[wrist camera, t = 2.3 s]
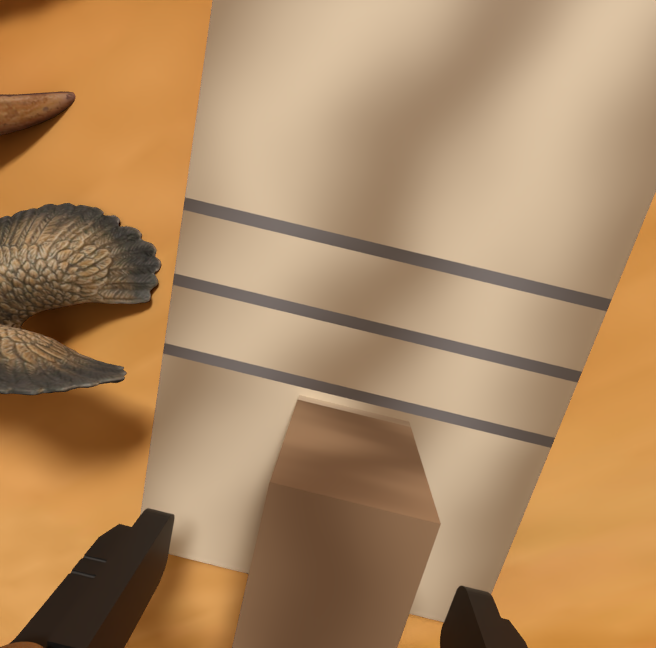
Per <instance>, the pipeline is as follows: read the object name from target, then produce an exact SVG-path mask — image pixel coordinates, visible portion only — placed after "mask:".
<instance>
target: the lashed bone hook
mask: <svg viewBox="0 0 656 648" xmlns="http://www.w3.org/2000/svg"><path fill="white" fill-rule="evenodd" d="M74 100H75V94H74V93H73V92H50V93H33V94H19V95H0V135H3V134H7V133H11V132H15V131H19V130H22V129H25V128H28V127H31V126H33V125H36V124H39V123H42V122H44V121H47V120H49V119H51V118H53V117H55V116H57V115H58V114H60V113H61V112H63V111H64V110H65V109H66V108H68V107H69V106H70V105H71V104H72V103H73V102H74Z"/></svg>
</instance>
